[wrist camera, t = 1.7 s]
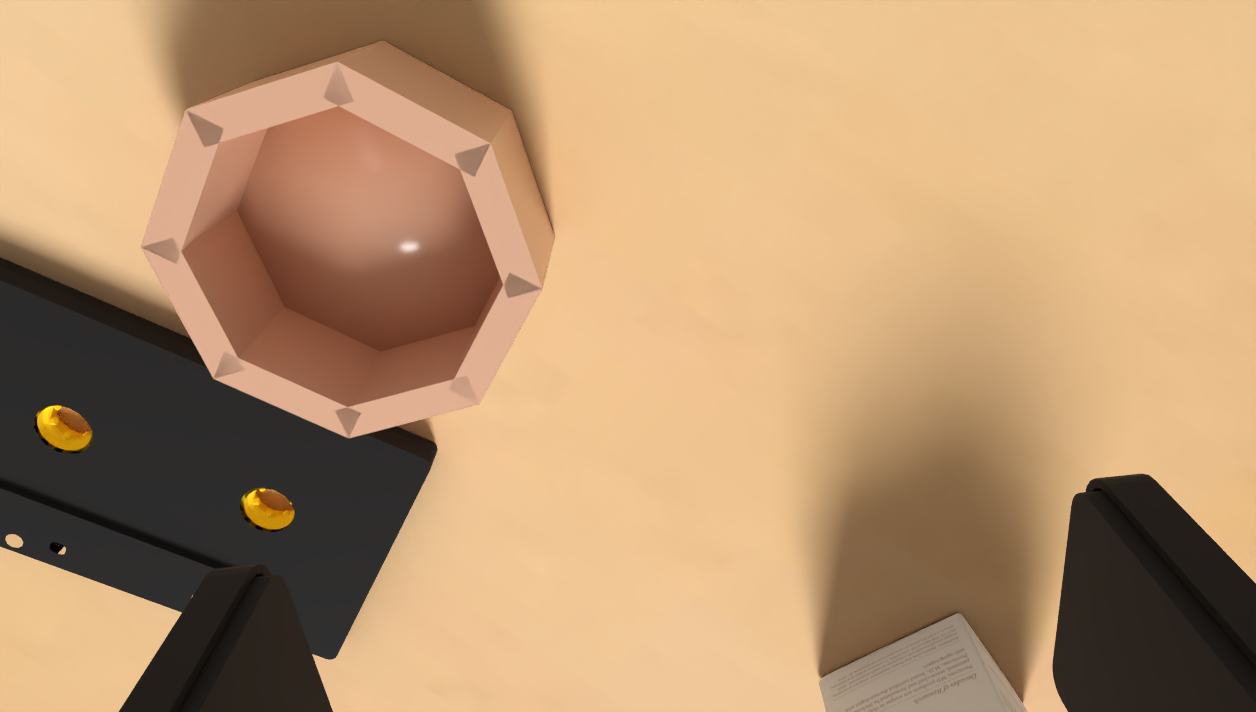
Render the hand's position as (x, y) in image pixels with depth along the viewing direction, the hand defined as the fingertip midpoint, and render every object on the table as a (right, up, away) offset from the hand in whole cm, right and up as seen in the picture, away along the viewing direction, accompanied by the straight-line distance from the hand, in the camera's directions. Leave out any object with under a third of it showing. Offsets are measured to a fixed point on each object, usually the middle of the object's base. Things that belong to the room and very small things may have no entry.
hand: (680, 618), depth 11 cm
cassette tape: (-19, -1, +26) cm, 32 cm away
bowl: (-9, +8, +21) cm, 24 cm away
